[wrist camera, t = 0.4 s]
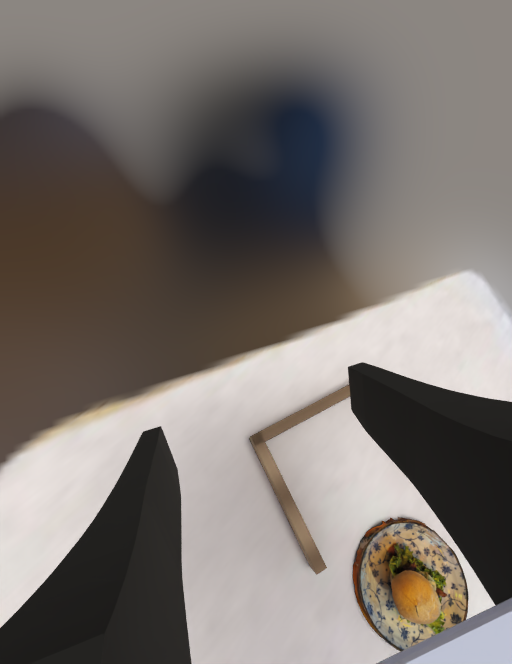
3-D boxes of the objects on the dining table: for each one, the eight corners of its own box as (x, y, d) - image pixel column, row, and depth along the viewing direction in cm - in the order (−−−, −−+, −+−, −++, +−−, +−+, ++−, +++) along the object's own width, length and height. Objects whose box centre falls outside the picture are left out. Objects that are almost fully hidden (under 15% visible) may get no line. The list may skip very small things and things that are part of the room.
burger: (465, 653, 34) (525, 700, 27) (353, 645, 34) (385, 691, 27) (449, 520, 39) (497, 532, 32) (350, 512, 38) (376, 522, 31)
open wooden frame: (433, 485, 40) (449, 486, 37) (310, 566, 36) (316, 574, 33) (365, 377, 44) (374, 371, 41) (249, 438, 40) (250, 436, 37)
